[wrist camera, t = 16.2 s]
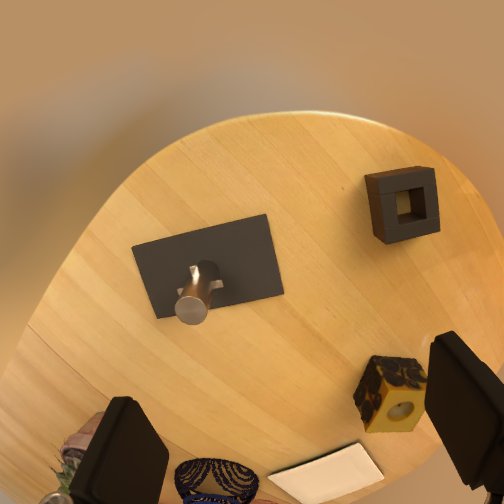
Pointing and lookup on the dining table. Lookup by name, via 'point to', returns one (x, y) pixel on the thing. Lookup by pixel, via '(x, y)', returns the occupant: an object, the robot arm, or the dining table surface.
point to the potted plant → (75, 451)
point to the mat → (219, 252)
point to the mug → (258, 502)
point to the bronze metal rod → (197, 292)
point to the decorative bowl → (184, 488)
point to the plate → (329, 476)
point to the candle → (391, 394)
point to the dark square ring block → (421, 200)
